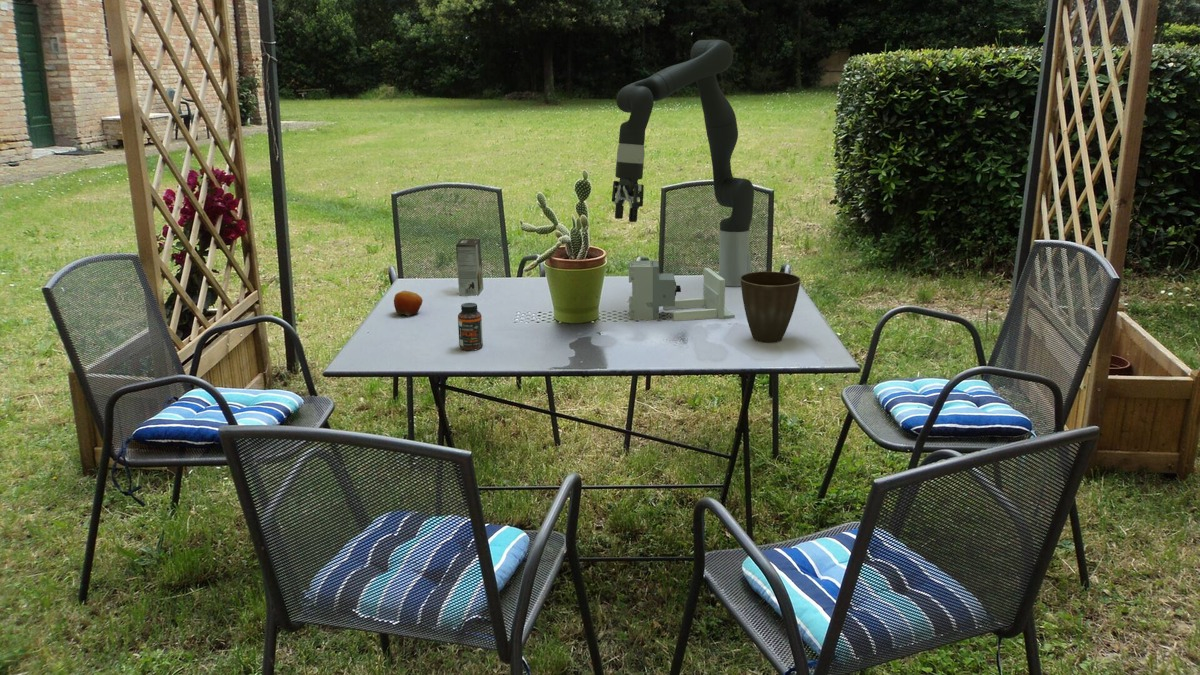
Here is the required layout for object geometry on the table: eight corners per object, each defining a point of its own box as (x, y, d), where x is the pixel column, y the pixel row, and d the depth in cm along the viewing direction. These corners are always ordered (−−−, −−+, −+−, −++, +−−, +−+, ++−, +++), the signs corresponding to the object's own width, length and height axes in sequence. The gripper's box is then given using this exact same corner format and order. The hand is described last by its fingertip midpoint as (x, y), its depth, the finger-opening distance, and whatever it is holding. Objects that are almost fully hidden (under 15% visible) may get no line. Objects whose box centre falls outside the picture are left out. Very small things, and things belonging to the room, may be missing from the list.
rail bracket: (718, 304, 270) (718, 267, 267) (734, 317, 256) (735, 279, 252) (661, 307, 267) (662, 270, 264) (675, 322, 253) (675, 282, 250)
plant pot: (806, 335, 239) (810, 275, 234) (783, 351, 227) (786, 288, 222) (753, 327, 247) (755, 268, 242) (728, 341, 235) (730, 280, 230)
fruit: (385, 313, 261) (390, 286, 263) (398, 321, 268) (403, 294, 270) (411, 315, 259) (416, 288, 260) (423, 323, 266) (428, 296, 268)
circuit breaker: (681, 319, 255) (681, 266, 251) (629, 319, 256) (628, 266, 251) (679, 311, 263) (679, 260, 258) (629, 312, 263) (628, 260, 258)
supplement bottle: (461, 352, 231) (458, 308, 227) (457, 345, 236) (455, 302, 233) (485, 349, 232) (482, 306, 229) (481, 342, 238) (478, 300, 235)
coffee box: (463, 288, 293) (460, 238, 288) (483, 288, 293) (481, 238, 288) (458, 296, 284) (455, 244, 279) (479, 295, 284) (476, 244, 279)
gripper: (654, 163, 249) (649, 223, 253) (630, 160, 262) (625, 217, 265) (629, 161, 246) (625, 222, 249) (606, 159, 259) (602, 217, 262)
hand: (625, 220), depth 257 cm, fingers open, 8 cm apart
